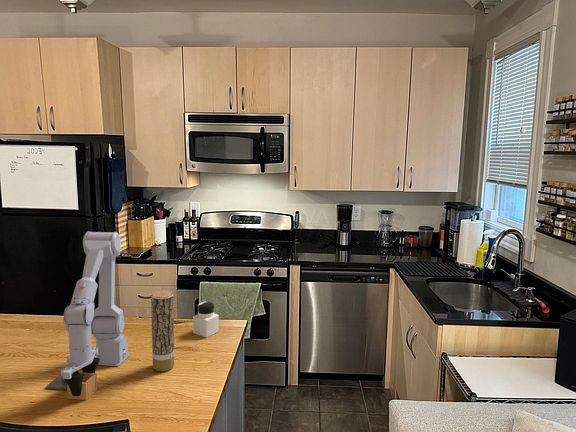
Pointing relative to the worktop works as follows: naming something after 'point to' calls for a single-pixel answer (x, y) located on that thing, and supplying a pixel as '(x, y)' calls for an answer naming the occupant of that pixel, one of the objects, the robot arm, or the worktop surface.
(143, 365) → the worktop surface
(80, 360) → the robot arm
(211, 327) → the medicine bottle
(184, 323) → the worktop surface
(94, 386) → the brown hollow box
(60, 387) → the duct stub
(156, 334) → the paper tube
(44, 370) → the worktop surface
